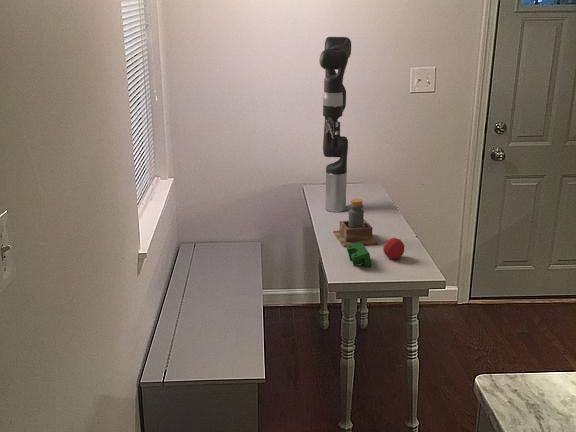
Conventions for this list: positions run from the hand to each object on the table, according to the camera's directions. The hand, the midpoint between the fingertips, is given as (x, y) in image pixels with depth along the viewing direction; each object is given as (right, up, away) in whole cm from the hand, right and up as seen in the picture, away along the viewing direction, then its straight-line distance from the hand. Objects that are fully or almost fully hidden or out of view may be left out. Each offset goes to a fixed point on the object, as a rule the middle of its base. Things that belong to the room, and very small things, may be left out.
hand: (332, 145), depth 260 cm
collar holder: (+10, -37, +4) cm, 38 cm away
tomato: (+21, -43, -15) cm, 50 cm away
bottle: (+10, -36, +4) cm, 37 cm away
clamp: (+8, -45, -19) cm, 49 cm away
